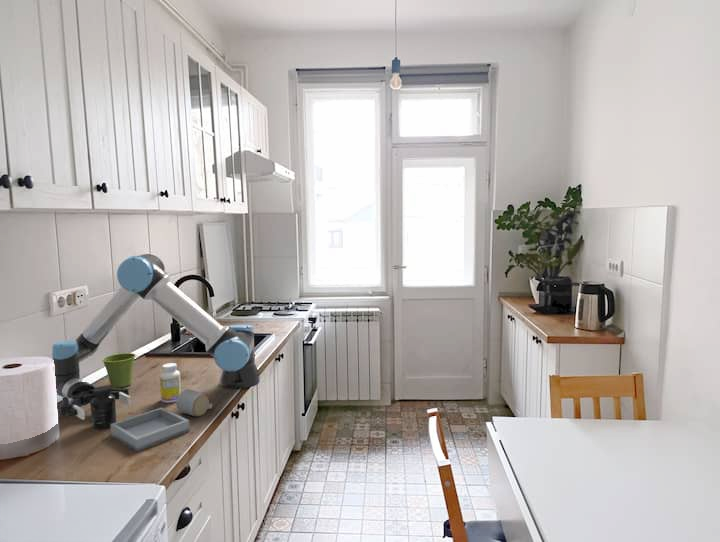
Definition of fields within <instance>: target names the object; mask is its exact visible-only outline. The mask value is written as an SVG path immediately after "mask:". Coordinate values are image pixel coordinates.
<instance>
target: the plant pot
mask: <svg viewBox="0 0 720 542" xmlns="http://www.w3.org/2000/svg"><path fill="white" fill-rule="evenodd" d="M136 357H137V354H136V353H133V352H123V353H122V352H121V353H116V354H112V355H111V354H110V355H106V356H104V357H102V358H101V361H102V362H103V364H104V367H105V369H106V373H107V374H106V375H107V376H108V379H109V385H110V387H111V388H120V387H122V388H125V386H126V387H127V386H130V385H132V381H133V373H134V363H135V358H136Z"/></svg>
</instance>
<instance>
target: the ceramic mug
mask: <svg viewBox="0 0 720 542" xmlns="http://www.w3.org/2000/svg"><path fill="white" fill-rule="evenodd" d="M175 403H176V405H175V406H176V409H177V410H178V412H179V413H182V414H186V415H190V416H193V417H202V416H203V415H204V414H205V413H206V412H207V411H208V410H211V409H212V407H213V403H211V402H210V400H209V398H208V396H207V395H206V394H203V393H201V392H198V391H196V390H193V389H190V388H189V389H184V390H183V391H181V393H180V395H179V396H178V398H177V401H176V402H175Z"/></svg>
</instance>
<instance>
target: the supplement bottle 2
mask: <svg viewBox="0 0 720 542" xmlns="http://www.w3.org/2000/svg"><path fill="white" fill-rule="evenodd" d="M161 367H162V372H161V373H160V375H159V382H160V398H161V399H160V400H161V402H163V403H164V402H165V403H167V404H170V403H171V404H172V403H177V398H178V396H179V395H180V393H181V392H182V386H181V385H182V384H181V372H180V371H179V370H177V368H178V366H177V363H175V362H171V363H170V362H169V363H165V364H162V366H161Z"/></svg>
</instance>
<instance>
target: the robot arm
mask: <svg viewBox="0 0 720 542" xmlns="http://www.w3.org/2000/svg"><path fill="white" fill-rule="evenodd" d="M165 269H166V268H165V264H164V262H163V261H162V260H161V258H159V256H157V255H154V254H151V253H145V254H140V255H133V256H130V257H128V258H126V259H124V260H123V261H122V262H121V263H120V264H119V265H118V267H117V271H116V272H117V273H116V277H117V282H118V284H119V285H120V286H121V287H120V288H119V289H118V291H117V292H115V294H114V295H113V297H111V299H110V300H109V301H108V302H107V303H106V305H104V307H103V308H102V309H101V310H100V311H99V313H98V314H97V315H95V317H94V318H93V319H92V321H91V322H90V323H89V324H88V325H87V326H86V328H85V329H84V330H83V331H82V333H81V334H79V335H78V336H77V338H76V339H75V340H73V339H66V340H61V341H56V342H55V343H53V344H52V353H51V355H52V361H53V360H54V364H55V376H56V389H57V394H56V395H57V396H59V397H61V399H62V403H61V405H60V408H59V410H60V416H61V417H63V416H66V415H68V418H71V417H74V416H75V417H77V418H79V419H80V420H85V419H86V417H85V416H86V415H85V414H86V413H85V409H83V408H82V407H84V406H86V405H89V404H90V401H91V399H92V398H93V397H94V396H93V389H95V388H96V387H95V386H94V385H93V384H91V383H89V382H87V381H85V380H84V379H81V375H80V372H81V370H80V363H81V362H83V361H84V360H86V359H88V358H89V357H91V356H93V355H94V354H95V353H96V352H97V351H98V350H99V346H100V345H101V344H102V343H103V341H104V340H105V339H106V338H107V337H108V336H109V334H111V333H112V332H113V330H115V329H114V328H115V327H116V326H118V324H119V323H120V322H121V321H122V319H123V318H124V317H125V316H126V315H127V314H128V313H129V311H131V309H132V308H133V307H134V306H135V305H136V304H137V302H139V300H140V299H141V298H142V299H143V300H144V301H146V300H147V301H148V300H151V301H153V302H154V303H155V304H156V305H157V306H159V308H161V309H162V310H164V311H165V312H166V313H167V314H168V315H170V316H171V317H172V318H173V319H174V320H176V321H177V322H178V323H179V324H180V325H181V326H183V327H184V328H185V329H186V330H187V331H189V333H191V334H192V335H194V336H195V338H197V339H198V340H199V341H201V342H202V343H203V344H204V345H205V351H206V353H208V354H209V355H210V356H212V357H213V359H214V362H215V365H217V367H219V369H221V370H222V371H221V375H220V378H219V385H220V387H221V388H223V389H226V390H243V389H249V388H253V387H255V386H257V385H259V383H260V380H261V379H260V378H261V377H260V373H259V370H258V368H257V366H256V363H255V337H254V336H255V331H254V327H253V325H251V324H233V325H232V324H231V325H222V324H220V322H218V321H217V320H216V319H215V318H214V317H212V315H210V314H209V313H207V312H206V311H205V310H204V309H203V308H202V307H201V306H200V305H198V304H197V302H196V301H193V300H192V299H191V298H190V297H189V296H187V295H186V294H185V293H184V292H183V291H182V290H180V289H179V288H178V287H177V286H176V285H174V284H173V283H172V282H171V277H170V274H169V273H167V272H166V271H165ZM129 393H130V392H129V388H114V387H111V394H112V395H114V397H115V400H118V401H119V402H121V403H123V404H125V405H127V406H131V405H132V401H131V396H130V394H129Z"/></svg>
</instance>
